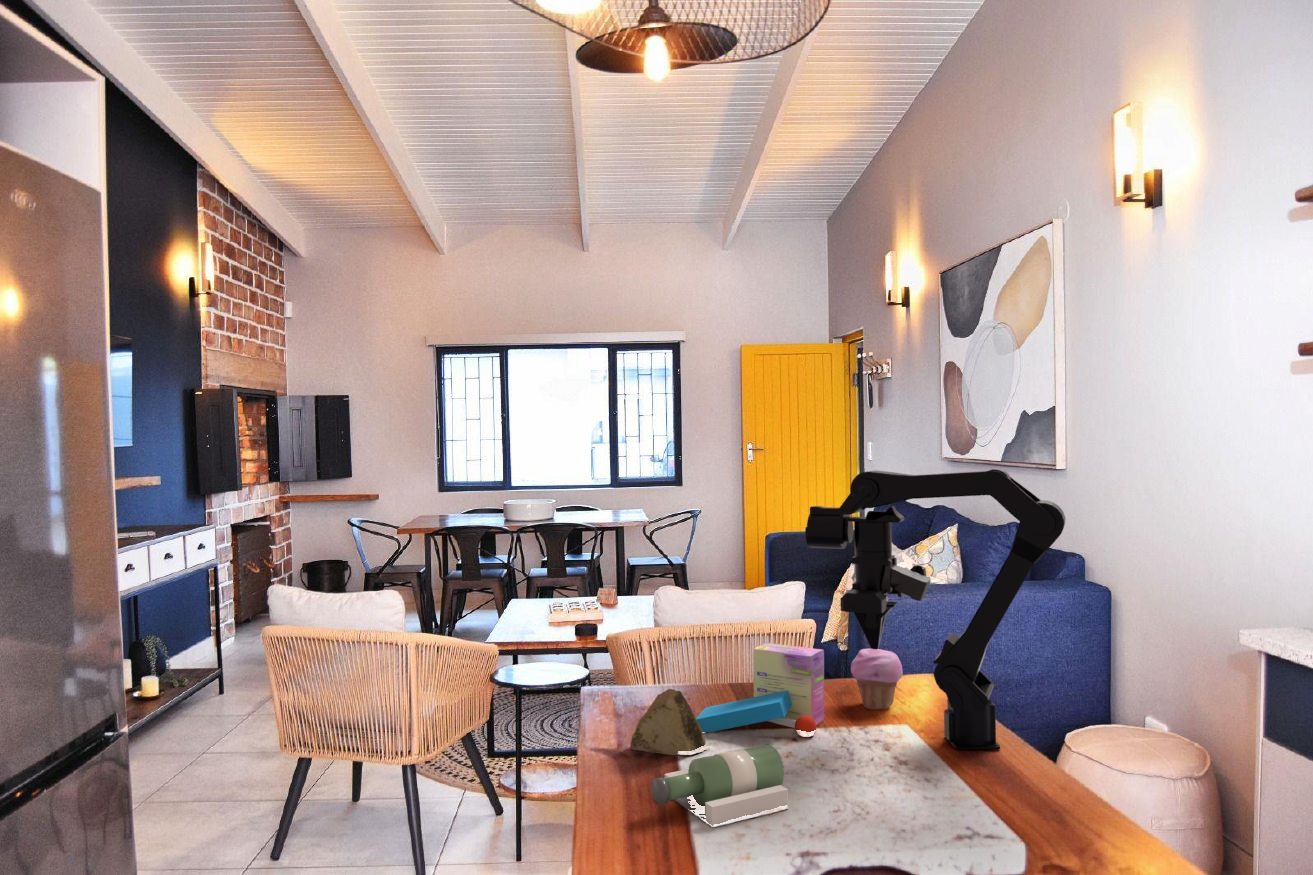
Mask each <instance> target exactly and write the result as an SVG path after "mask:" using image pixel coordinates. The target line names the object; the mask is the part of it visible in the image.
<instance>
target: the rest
mask: <svg viewBox="0 0 1313 875" xmlns="http://www.w3.org/2000/svg"><path fill="white" fill-rule="evenodd" d="M688 771H689V768H685V769H681V770H677V771H673V772H672V771H671V772H667V773H664V778H669V777H674V776H678V775H683V774H688ZM788 791H789V789H788V788H786V787H785V786H782V785H778V786H774V787H770V788H765V789H761V790H757V791H752V792H748V793H744V794H739V795H735V796H731V797H726V798H722V799H718V800H713V801H709V802H705V814H699V815H705V816H706V818H704V817H701V818H703V819H706V821H707V822H708V823H709V824H711V825H712V826H713V825H714V824H720V823H723V822H726V821H728V820H731V819H736V818H739V817H742V816H745V815H746V816H747V815H753V814H756V813H760V812H762V811H765V810H771V809H774V808H777V807H779V806H785V805H788V806H789V792H788ZM687 797H689V796H687ZM687 797H683V798H678V799H674V800H673V801H675V802H676V803H678V804H679V805H680V806H682V807H683V808H684V809H686V810H687V811H689V810H695V809H696V808H691V807H690V806H691V805H690V804H689V803H690V802H689V803H688V801H691V800H690V799H687ZM692 806H695V805H692ZM688 809H689V810H688ZM693 812H694V811H693ZM694 813H695V812H694Z"/></svg>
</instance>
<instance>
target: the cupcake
mask: <svg viewBox="0 0 1313 875" xmlns="http://www.w3.org/2000/svg"><path fill="white" fill-rule="evenodd" d="M850 672H851V674H852V677H853V678H854V679H855V680H856V682H857V686H858V687H857V688H858V690H859V694H860V698H861V702H862V704H863V706H864V708H865V709H868V710H871V711H873V710H875V711H876V710H886V709H888V708H890V707H891V706H893V704H894V700H895V699H894V698H895V693H896V687H897V684H898V682H899V681H900V680H901V679H902V677H903V674H904V673H903V666H902V662H901V660H900V659H899V656H898V655H897V654H896V653H895V652H893V651H890V650H886V649H885V650H884V649H881V648H878V649H871V648H862V649H860V650H859V651H858V653H857V654H856V656H855V657H854V659H853V660H852V661H851V665H850Z"/></svg>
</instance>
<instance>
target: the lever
mask: <svg viewBox="0 0 1313 875" xmlns="http://www.w3.org/2000/svg"><path fill="white" fill-rule="evenodd" d="M791 706H792V702H791V699H790V696H789V692H788V690H786V691H781V692H776V693H772V694H767V695H762V696H758V697H754V696H753V697H749V698H744V699H739V700H735V701H730V702H726V703H720V704H716V705H712V706H707V707H705V708H704V709H703V710H702V711H701V712H700V713H699V714H698V716H697V717H695V718H696V721H697V722H698V724H699V725H700V726H701V729H702V732H709V733H713V732H718V731H723V730H728V729H734V728H739V727H742V726H748V725H752V724H757V723H762V722H769V723H773V724H777V725H781V726H785V727H789V728H794V730H795V729H796V730H801V731H806V732H811V731H814V730H816V729H817V726H818V725H816V722H815V720H814V719H813V718H812V717H810V716H806V715H804V716H801V717H799V718H798V719H797V720H793V719H789V718H785V715H786V714H787V712H788V710H789V709H790V707H791ZM796 730H795V731H796ZM816 731H817V730H816Z"/></svg>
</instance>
